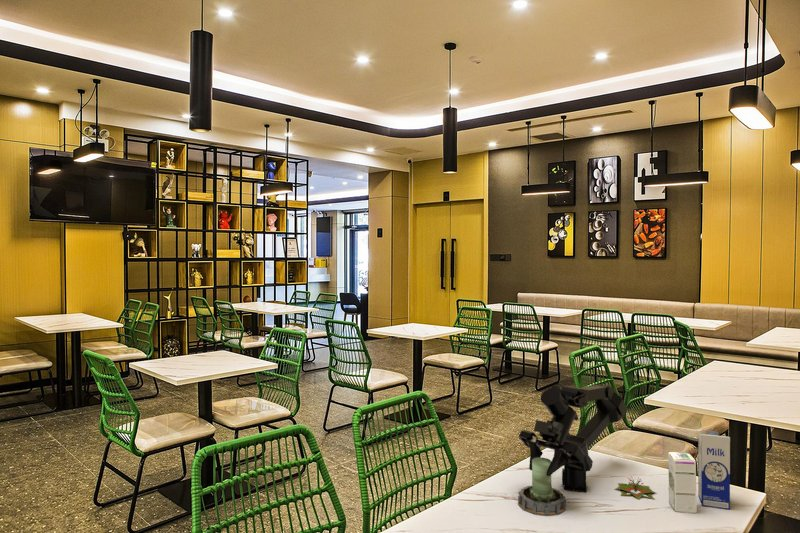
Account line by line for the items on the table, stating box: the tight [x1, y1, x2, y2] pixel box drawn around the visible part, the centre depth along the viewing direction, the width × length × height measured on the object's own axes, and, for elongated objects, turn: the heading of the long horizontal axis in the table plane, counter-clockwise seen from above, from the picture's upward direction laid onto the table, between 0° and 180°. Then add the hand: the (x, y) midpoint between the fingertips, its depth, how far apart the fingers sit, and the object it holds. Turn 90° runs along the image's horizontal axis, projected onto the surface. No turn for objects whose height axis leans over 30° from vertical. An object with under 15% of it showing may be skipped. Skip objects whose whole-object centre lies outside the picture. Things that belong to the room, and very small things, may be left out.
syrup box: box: [667, 451, 698, 514], centre depth 148 cm, size 6×6×14 cm
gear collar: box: [517, 485, 567, 517], centre depth 151 cm, size 13×13×3 cm
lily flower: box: [615, 476, 656, 501], centre depth 159 cm, size 12×12×5 cm
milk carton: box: [697, 430, 731, 510], centre depth 151 cm, size 7×7×20 cm
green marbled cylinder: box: [529, 456, 555, 502], centre depth 151 cm, size 7×7×10 cm
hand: (538, 472), depth 150 cm, fingers closed on green marbled cylinder, 5 cm apart
